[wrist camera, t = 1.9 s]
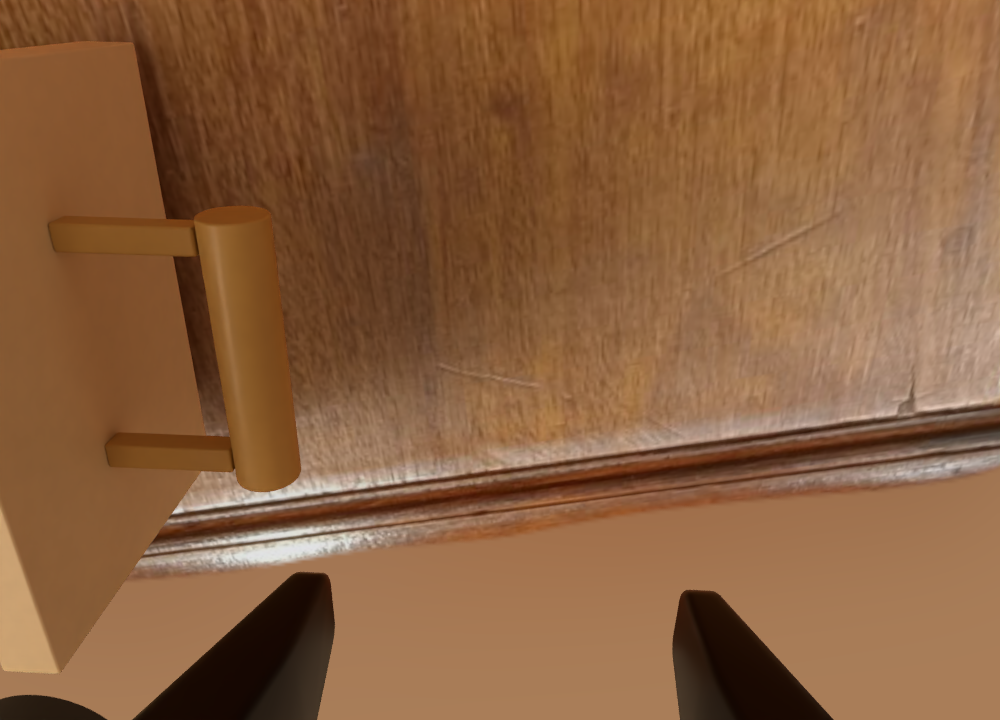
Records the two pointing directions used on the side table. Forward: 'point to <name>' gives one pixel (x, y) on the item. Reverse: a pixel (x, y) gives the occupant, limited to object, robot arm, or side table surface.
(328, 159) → the side table surface
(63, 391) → the drawer
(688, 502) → the side table surface
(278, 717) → the robot arm
